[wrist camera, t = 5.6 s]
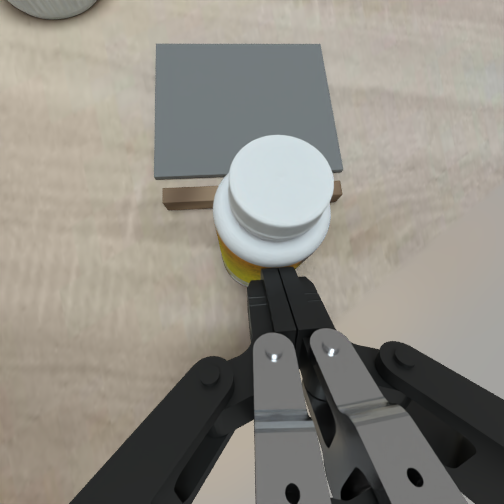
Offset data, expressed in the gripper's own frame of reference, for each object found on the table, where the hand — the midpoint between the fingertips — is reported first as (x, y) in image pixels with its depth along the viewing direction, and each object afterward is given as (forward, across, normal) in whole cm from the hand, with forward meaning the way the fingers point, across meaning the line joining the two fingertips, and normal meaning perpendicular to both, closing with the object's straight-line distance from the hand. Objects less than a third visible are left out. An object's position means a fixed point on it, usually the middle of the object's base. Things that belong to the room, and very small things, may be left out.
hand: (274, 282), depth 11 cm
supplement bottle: (+7, 0, +3) cm, 8 cm away
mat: (+17, 0, -7) cm, 18 cm away
